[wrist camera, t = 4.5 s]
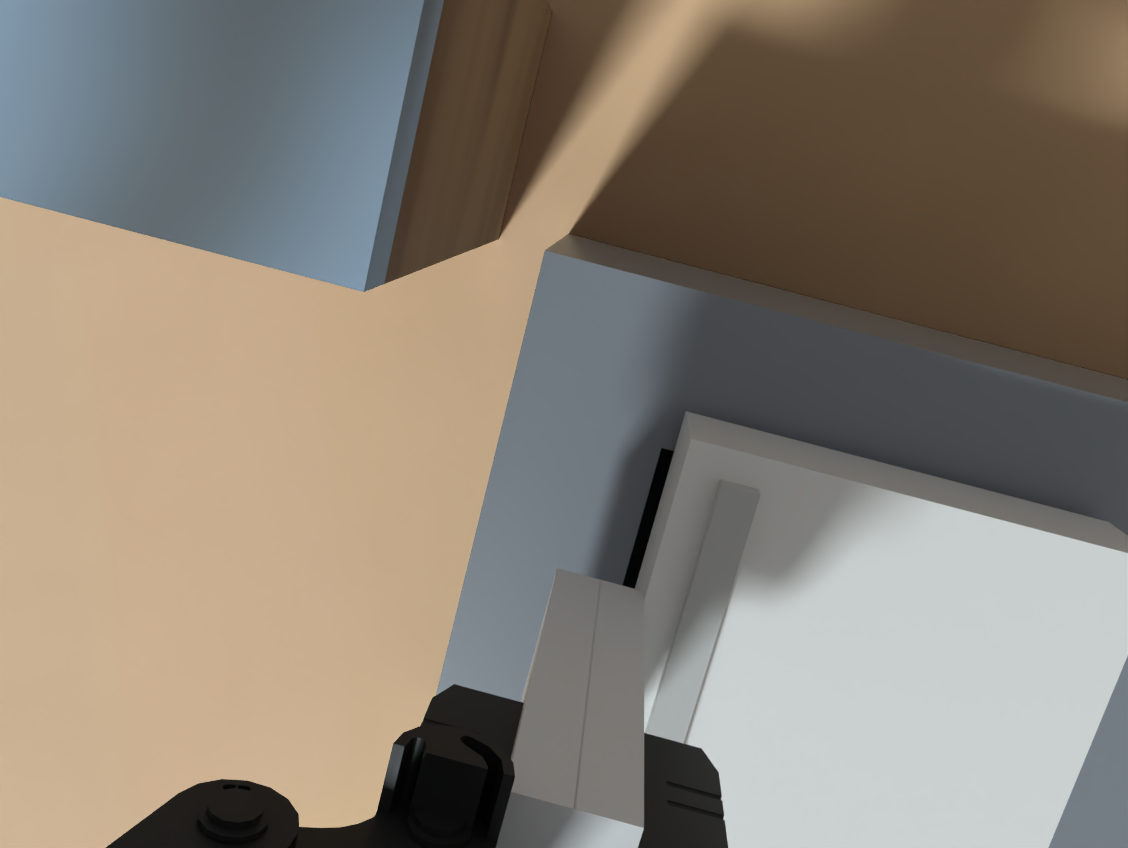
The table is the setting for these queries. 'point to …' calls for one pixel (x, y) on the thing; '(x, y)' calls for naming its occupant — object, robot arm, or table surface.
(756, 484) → the lid
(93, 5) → the plug
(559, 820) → the robot arm
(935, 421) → the socket block
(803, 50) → the table surface
